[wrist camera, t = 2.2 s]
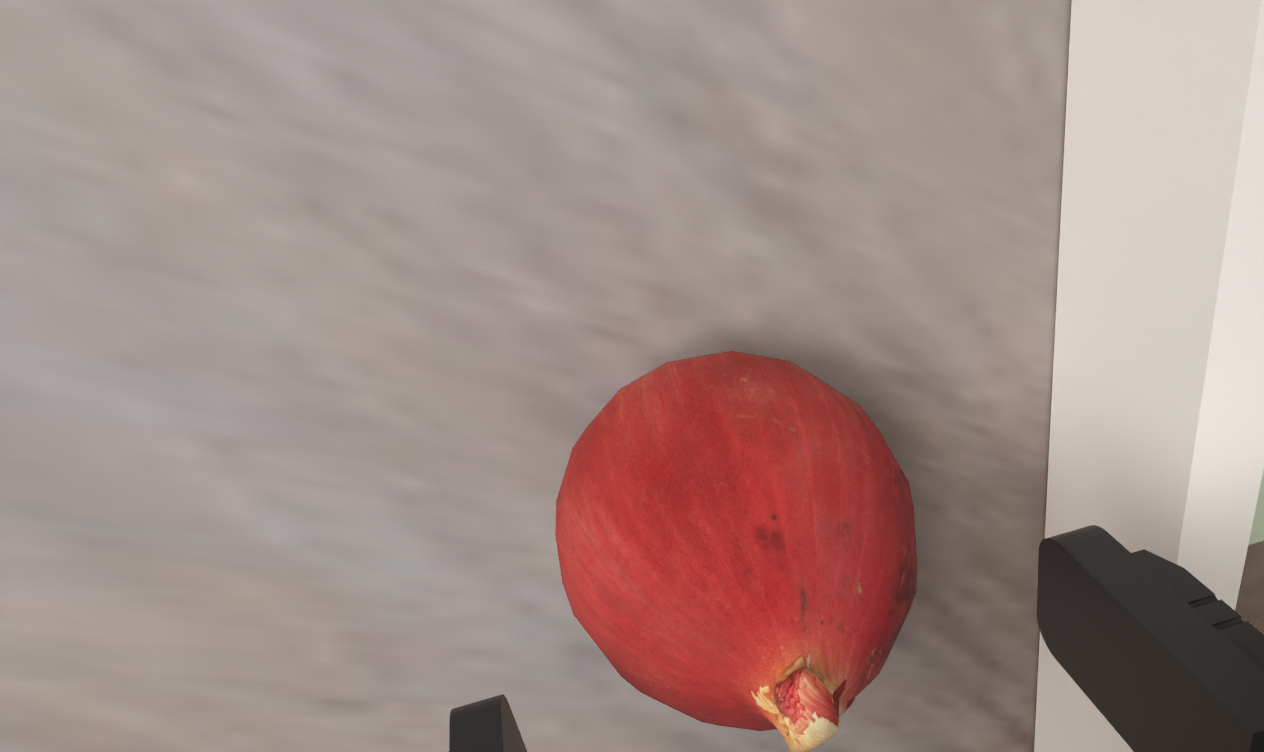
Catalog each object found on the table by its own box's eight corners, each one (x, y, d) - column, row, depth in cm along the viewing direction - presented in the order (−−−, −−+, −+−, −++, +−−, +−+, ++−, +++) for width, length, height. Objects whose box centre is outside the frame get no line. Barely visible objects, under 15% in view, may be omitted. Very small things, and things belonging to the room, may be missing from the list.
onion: (857, 318, 17) (1134, 582, 10) (759, 547, 20) (932, 890, 13) (578, 257, 16) (685, 522, 9) (508, 515, 18) (546, 890, 11)
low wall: (1088, -340, 13) (1326, -440, 9) (1181, -361, 13) (1451, -466, 9) (1033, 767, 25) (1126, 900, 22) (1080, 751, 26) (1180, 882, 22)
